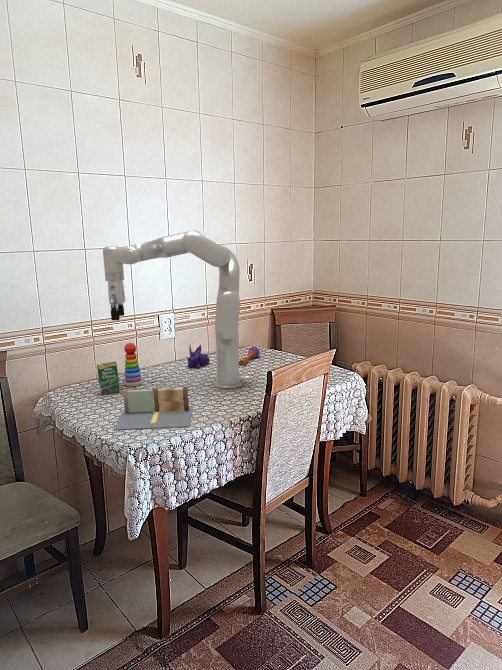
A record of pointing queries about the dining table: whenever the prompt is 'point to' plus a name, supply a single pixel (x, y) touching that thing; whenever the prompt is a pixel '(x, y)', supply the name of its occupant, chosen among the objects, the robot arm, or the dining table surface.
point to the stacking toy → (131, 366)
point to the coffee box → (108, 378)
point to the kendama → (250, 355)
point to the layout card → (153, 420)
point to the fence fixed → (171, 399)
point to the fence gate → (138, 400)
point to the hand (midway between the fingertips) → (118, 317)
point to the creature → (197, 358)
